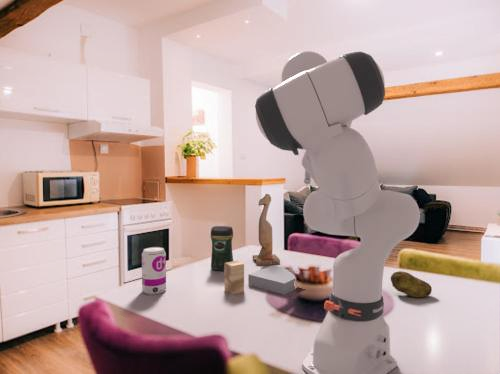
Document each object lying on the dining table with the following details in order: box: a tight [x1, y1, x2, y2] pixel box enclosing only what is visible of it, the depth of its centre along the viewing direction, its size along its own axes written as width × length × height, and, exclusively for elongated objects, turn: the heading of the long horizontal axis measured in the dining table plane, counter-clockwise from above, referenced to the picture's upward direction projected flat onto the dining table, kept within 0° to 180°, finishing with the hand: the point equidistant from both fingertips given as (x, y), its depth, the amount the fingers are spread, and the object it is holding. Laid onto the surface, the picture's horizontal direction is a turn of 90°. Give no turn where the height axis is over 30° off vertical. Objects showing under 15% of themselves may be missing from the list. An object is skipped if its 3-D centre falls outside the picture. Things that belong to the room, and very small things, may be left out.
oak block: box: [224, 260, 245, 295], centre depth 125 cm, size 5×5×10 cm
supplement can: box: [141, 246, 167, 296], centre depth 125 cm, size 8×8×15 cm
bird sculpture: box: [252, 193, 281, 266], centre depth 162 cm, size 11×12×32 cm
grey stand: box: [248, 264, 300, 296], centre depth 133 cm, size 16×16×4 cm
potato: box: [390, 270, 432, 298], centre depth 121 cm, size 8×13×8 cm, turn 64°
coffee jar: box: [209, 225, 234, 272], centre depth 152 cm, size 10×8×19 cm
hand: (311, 190), depth 116 cm, fingers open, 8 cm apart
